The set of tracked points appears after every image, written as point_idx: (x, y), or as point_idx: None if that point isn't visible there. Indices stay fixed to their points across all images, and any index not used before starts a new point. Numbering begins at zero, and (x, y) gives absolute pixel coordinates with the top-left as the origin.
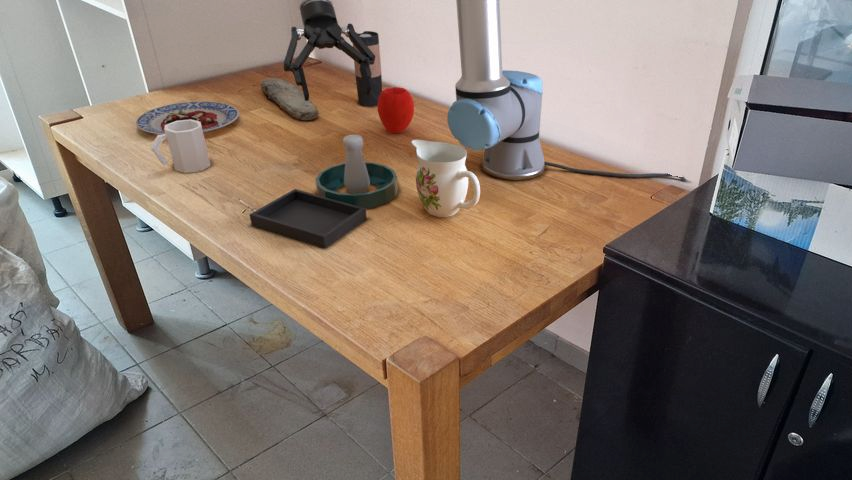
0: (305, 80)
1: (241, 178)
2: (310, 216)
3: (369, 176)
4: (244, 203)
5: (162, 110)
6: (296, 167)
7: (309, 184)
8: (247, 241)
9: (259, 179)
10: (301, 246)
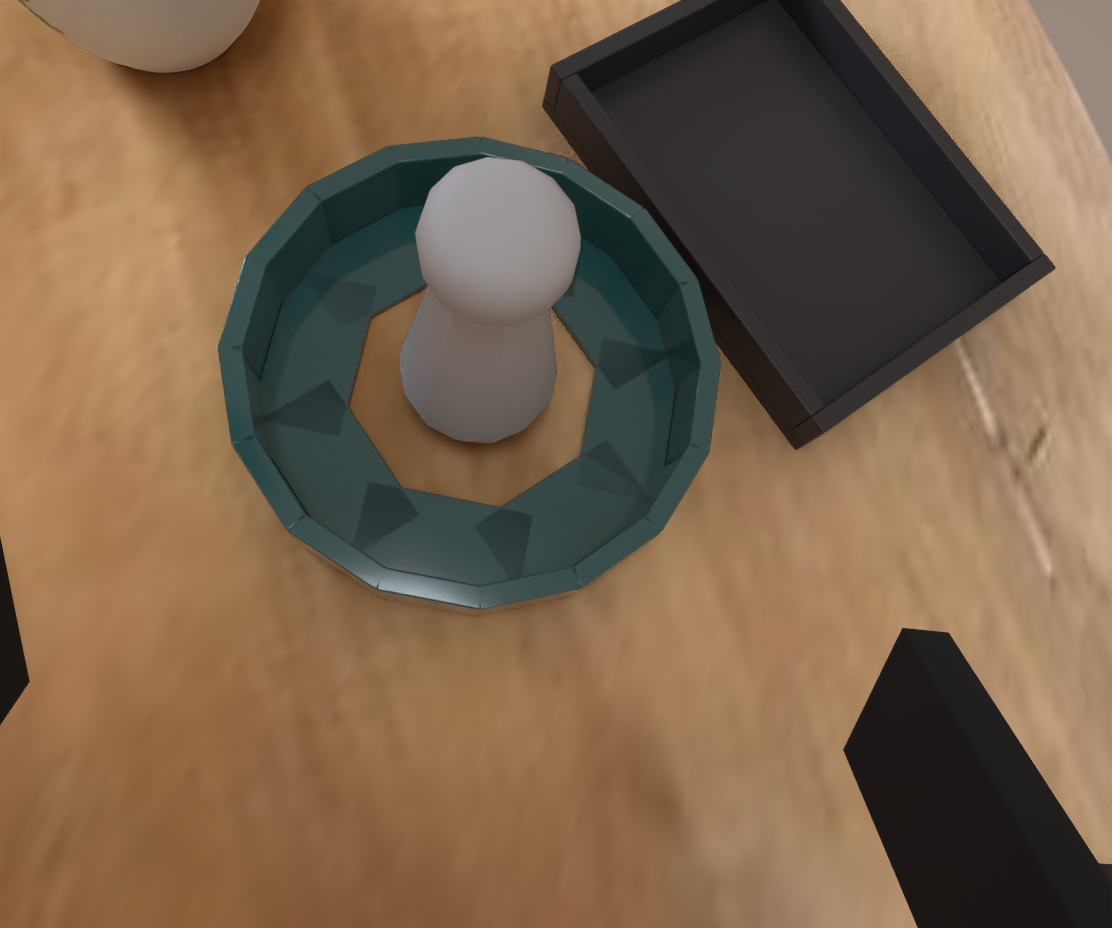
0: (1019, 826)
1: None
2: (778, 220)
3: (339, 533)
4: (1033, 527)
5: None
6: (711, 903)
7: (694, 604)
8: (1037, 180)
9: None
10: None
